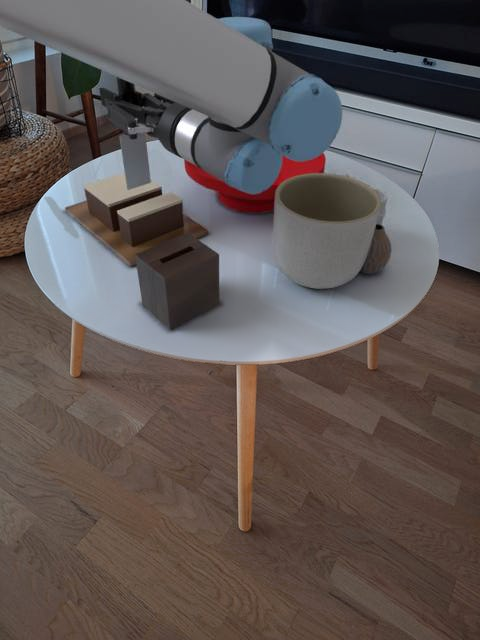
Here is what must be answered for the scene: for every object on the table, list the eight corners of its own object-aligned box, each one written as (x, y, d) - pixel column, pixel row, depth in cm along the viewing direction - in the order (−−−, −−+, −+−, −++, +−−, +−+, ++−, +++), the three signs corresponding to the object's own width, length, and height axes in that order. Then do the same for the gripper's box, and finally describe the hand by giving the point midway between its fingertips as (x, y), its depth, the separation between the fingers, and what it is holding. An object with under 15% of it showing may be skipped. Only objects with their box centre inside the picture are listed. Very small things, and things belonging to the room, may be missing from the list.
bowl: (316, 238, 93) (324, 192, 86) (170, 222, 96) (166, 177, 89) (320, 174, 116) (327, 133, 109) (202, 162, 119) (201, 122, 112)
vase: (362, 252, 90) (372, 212, 84) (393, 268, 86) (405, 227, 80) (341, 266, 86) (349, 225, 80) (371, 283, 83) (382, 242, 77)
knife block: (219, 303, 77) (219, 254, 71) (170, 330, 72) (165, 279, 66) (190, 281, 82) (187, 232, 75) (142, 304, 77) (134, 254, 70)
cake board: (208, 234, 93) (207, 229, 93) (130, 267, 84) (130, 262, 84) (138, 187, 107) (137, 183, 107) (65, 211, 98) (64, 207, 98)
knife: (154, 184, 88) (142, 76, 75) (131, 192, 86) (115, 81, 73) (146, 179, 90) (133, 72, 77) (123, 187, 87) (106, 77, 74)
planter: (308, 236, 94) (318, 164, 83) (381, 272, 85) (402, 196, 75) (250, 271, 85) (253, 194, 74) (325, 315, 76) (340, 236, 66)
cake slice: (183, 226, 93) (182, 199, 89) (132, 247, 87) (128, 219, 83) (172, 218, 96) (170, 191, 91) (121, 238, 89) (116, 210, 85)
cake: (164, 213, 97) (161, 186, 93) (113, 232, 91) (108, 204, 87) (138, 195, 103) (135, 169, 99) (89, 212, 97) (83, 185, 92)
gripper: (150, 173, 66) (73, 126, 79) (233, 146, 74) (152, 107, 87) (144, 120, 61) (63, 78, 74) (234, 97, 69) (147, 63, 82)
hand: (111, 94), depth 80 cm, fingers closed on knife, 3 cm apart
